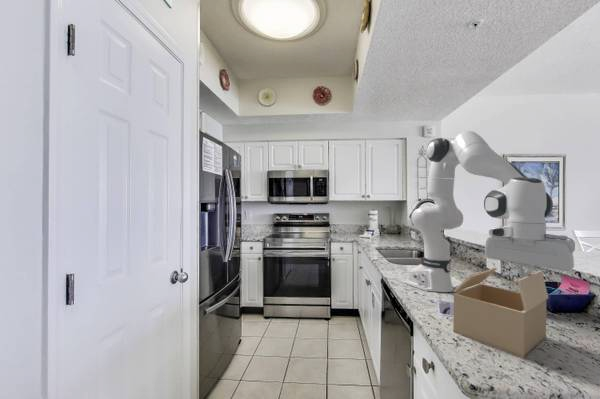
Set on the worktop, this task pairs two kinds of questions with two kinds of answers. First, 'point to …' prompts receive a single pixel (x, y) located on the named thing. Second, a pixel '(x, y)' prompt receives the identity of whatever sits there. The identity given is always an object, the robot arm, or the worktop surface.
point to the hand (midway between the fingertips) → (525, 279)
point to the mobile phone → (446, 308)
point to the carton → (499, 319)
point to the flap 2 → (532, 290)
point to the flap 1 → (475, 279)
